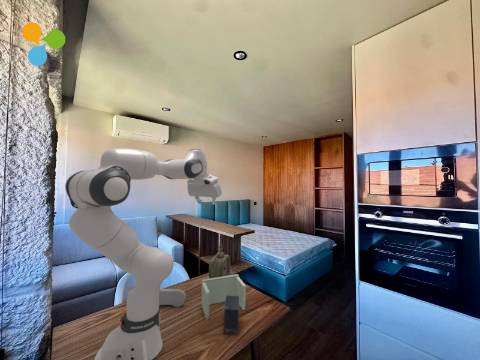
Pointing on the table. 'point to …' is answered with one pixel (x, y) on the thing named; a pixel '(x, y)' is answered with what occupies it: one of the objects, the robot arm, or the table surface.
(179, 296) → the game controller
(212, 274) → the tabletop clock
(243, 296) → the rack
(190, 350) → the table surface
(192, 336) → the table surface
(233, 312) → the small box
